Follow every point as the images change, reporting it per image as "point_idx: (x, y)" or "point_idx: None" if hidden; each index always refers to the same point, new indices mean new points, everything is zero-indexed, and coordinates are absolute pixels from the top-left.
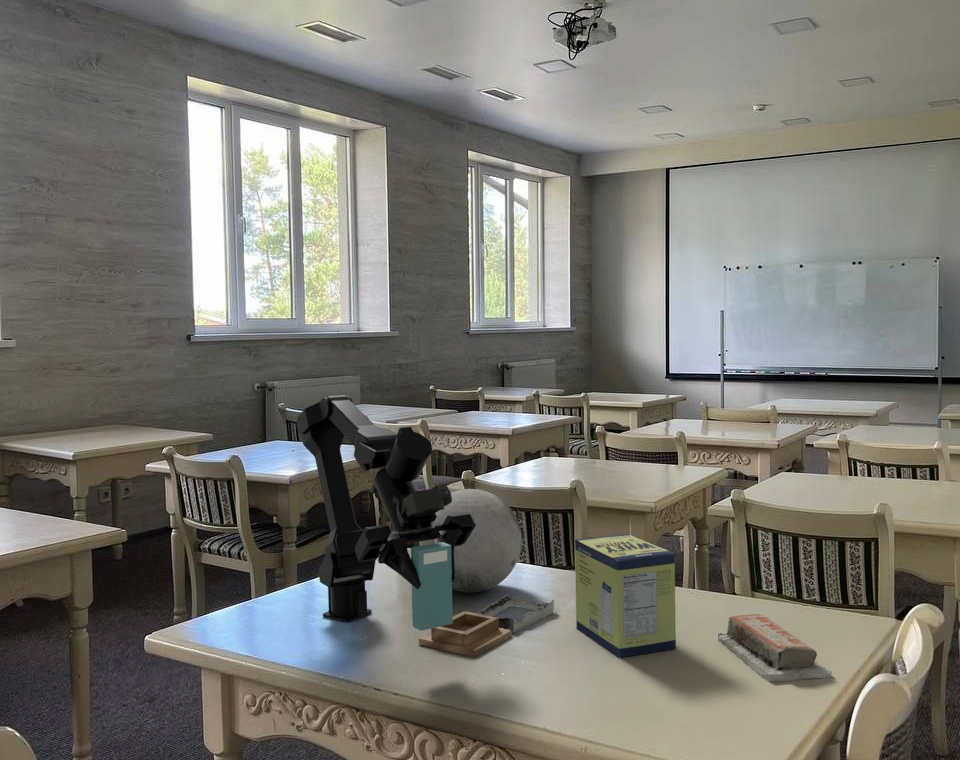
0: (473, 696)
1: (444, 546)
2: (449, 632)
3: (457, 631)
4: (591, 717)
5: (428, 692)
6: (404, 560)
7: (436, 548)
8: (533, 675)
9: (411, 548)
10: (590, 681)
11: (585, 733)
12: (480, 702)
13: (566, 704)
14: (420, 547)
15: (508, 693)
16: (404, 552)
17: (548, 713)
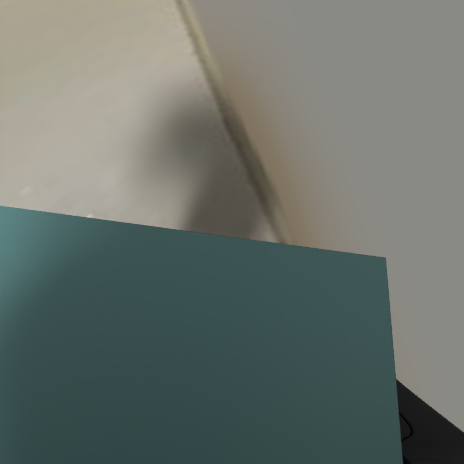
0: (201, 181)
1: (44, 214)
2: None
3: None
4: (123, 29)
5: None
6: (410, 392)
7: (167, 229)
8: (53, 173)
9: (394, 456)
10: (5, 91)
11: (167, 14)
12: (207, 158)
13: (114, 70)
14: (305, 382)
15: (149, 151)
16: (445, 461)
17: (158, 71)
